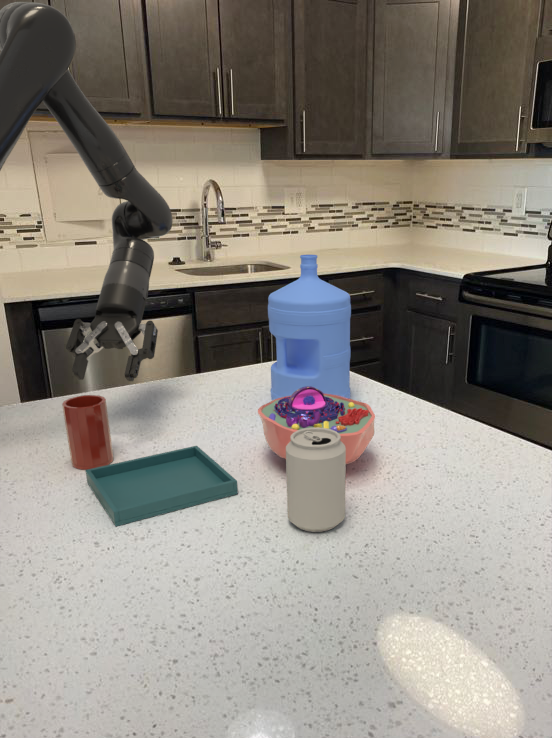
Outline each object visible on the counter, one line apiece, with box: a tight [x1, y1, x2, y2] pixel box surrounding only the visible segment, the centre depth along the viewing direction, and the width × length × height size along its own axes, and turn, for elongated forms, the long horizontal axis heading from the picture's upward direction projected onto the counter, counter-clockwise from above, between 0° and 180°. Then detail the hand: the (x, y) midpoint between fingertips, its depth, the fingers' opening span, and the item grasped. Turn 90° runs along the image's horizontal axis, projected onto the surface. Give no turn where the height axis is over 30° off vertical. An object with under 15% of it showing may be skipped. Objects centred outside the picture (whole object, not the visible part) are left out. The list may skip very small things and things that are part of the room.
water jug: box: [267, 254, 352, 401], centre depth 126 cm, size 16×16×28 cm
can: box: [285, 427, 347, 533], centre depth 84 cm, size 8×8×12 cm
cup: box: [61, 394, 114, 471], centre depth 103 cm, size 6×6×10 cm
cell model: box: [257, 386, 376, 466], centre depth 102 cm, size 17×20×11 cm
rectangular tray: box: [84, 445, 239, 527], centre depth 95 cm, size 17×15×2 cm
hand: (103, 378), depth 107 cm, fingers open, 8 cm apart
